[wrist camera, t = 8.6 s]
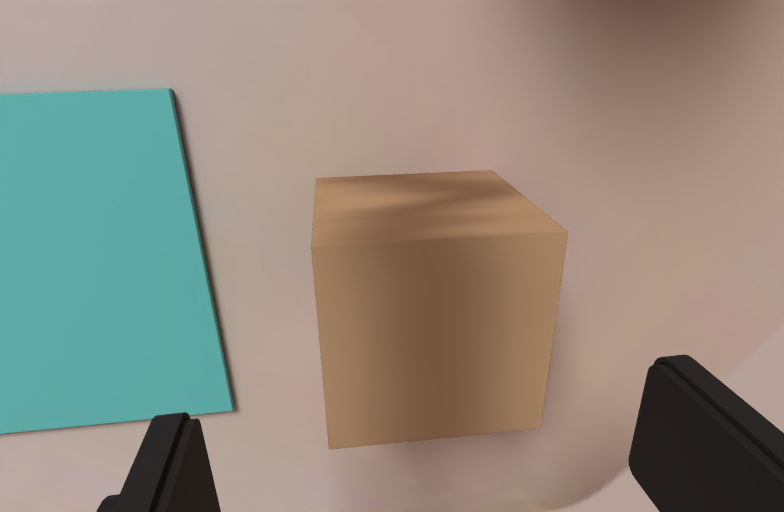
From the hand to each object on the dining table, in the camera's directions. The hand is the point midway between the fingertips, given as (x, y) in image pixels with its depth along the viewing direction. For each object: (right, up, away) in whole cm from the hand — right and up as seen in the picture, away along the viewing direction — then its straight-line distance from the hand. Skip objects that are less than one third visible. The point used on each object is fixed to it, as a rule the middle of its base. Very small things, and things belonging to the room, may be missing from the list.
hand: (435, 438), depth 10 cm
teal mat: (-13, +3, +6) cm, 15 cm away
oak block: (0, +4, +8) cm, 9 cm away
